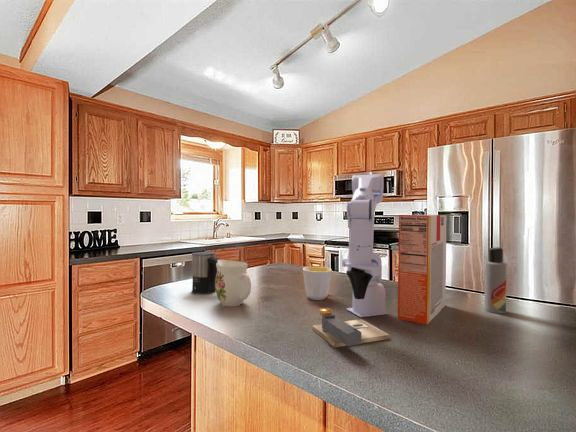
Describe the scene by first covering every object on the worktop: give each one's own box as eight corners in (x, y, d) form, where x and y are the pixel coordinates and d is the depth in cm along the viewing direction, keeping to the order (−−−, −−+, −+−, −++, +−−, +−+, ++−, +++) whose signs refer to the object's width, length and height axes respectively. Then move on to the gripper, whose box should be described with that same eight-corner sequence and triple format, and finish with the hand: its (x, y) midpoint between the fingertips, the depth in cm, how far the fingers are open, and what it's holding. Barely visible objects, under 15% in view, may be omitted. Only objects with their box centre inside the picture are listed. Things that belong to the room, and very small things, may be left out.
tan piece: (361, 322, 90) (361, 304, 90) (389, 338, 79) (389, 318, 79) (312, 329, 85) (312, 310, 85) (334, 347, 74) (334, 325, 74)
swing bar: (316, 323, 82) (316, 308, 82) (328, 322, 83) (328, 307, 83) (347, 346, 68) (347, 328, 68) (361, 343, 70) (361, 326, 70)
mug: (322, 303, 109) (322, 272, 108) (297, 298, 115) (297, 269, 114) (340, 295, 120) (341, 266, 120) (316, 291, 126) (317, 264, 125)
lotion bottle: (509, 314, 99) (510, 248, 98) (488, 313, 100) (489, 248, 100) (500, 308, 104) (501, 246, 104) (481, 307, 105) (482, 246, 105)
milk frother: (186, 293, 121) (186, 253, 121) (209, 284, 136) (209, 249, 136) (219, 296, 117) (220, 255, 116) (239, 287, 132) (240, 250, 131)
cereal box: (419, 301, 112) (421, 214, 112) (445, 305, 108) (446, 215, 107) (397, 318, 94) (399, 215, 94) (427, 324, 89) (428, 215, 89)
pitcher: (234, 314, 97) (235, 268, 97) (204, 301, 110) (204, 261, 110) (263, 306, 104) (263, 264, 104) (232, 296, 117) (232, 258, 117)
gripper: (332, 243, 89) (332, 293, 89) (362, 249, 75) (362, 307, 76) (354, 243, 92) (354, 290, 92) (387, 248, 78) (387, 304, 78)
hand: (359, 298), depth 84 cm, fingers closed
